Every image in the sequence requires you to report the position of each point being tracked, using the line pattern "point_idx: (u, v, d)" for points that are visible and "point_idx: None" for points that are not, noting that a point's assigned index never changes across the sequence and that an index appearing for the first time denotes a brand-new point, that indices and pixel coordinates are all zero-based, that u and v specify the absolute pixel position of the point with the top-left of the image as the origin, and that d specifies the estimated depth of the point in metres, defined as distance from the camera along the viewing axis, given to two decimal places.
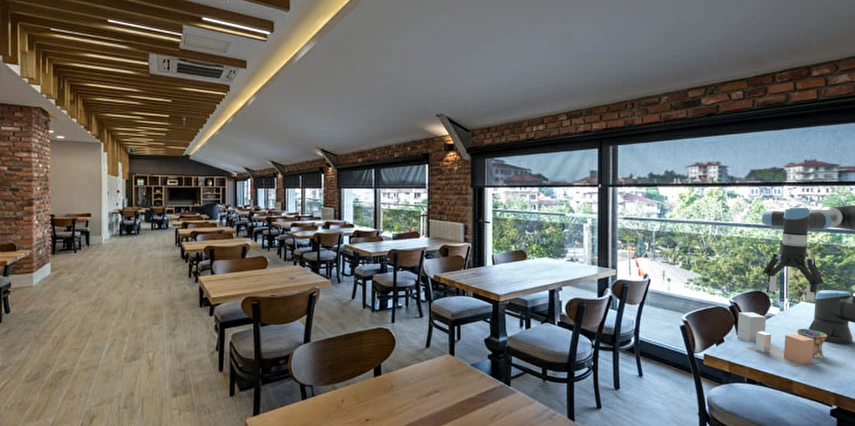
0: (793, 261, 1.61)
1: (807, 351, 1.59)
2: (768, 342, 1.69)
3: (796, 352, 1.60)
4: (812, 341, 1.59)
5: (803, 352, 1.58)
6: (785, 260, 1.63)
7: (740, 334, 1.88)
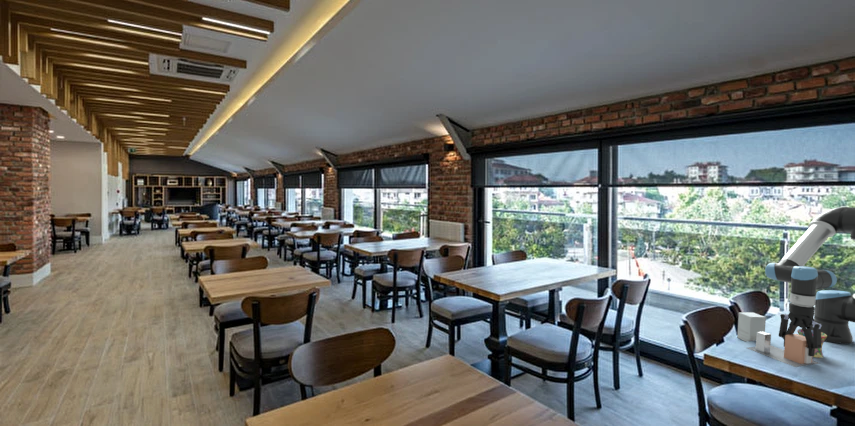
0: (801, 321, 1.59)
1: None
2: (768, 342, 1.69)
3: (796, 352, 1.60)
4: None
5: (803, 352, 1.58)
6: (793, 320, 1.62)
7: (740, 334, 1.88)
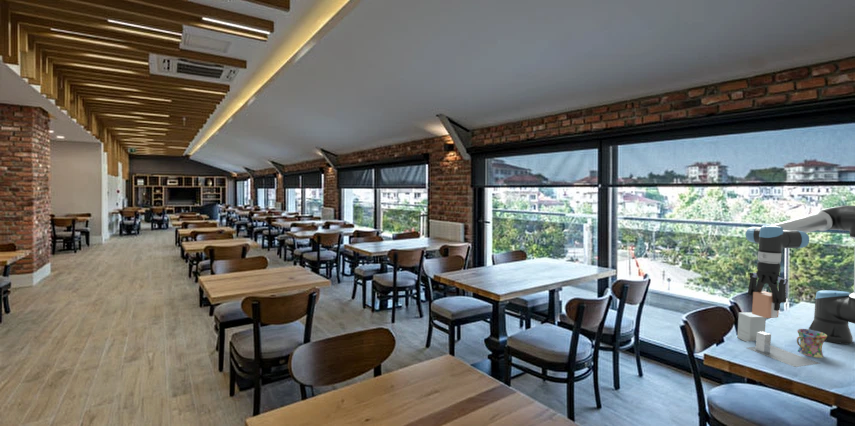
0: (767, 278, 1.67)
1: None
2: (768, 342, 1.69)
3: (763, 307, 1.67)
4: None
5: (769, 307, 1.66)
6: (761, 277, 1.69)
7: (740, 334, 1.88)
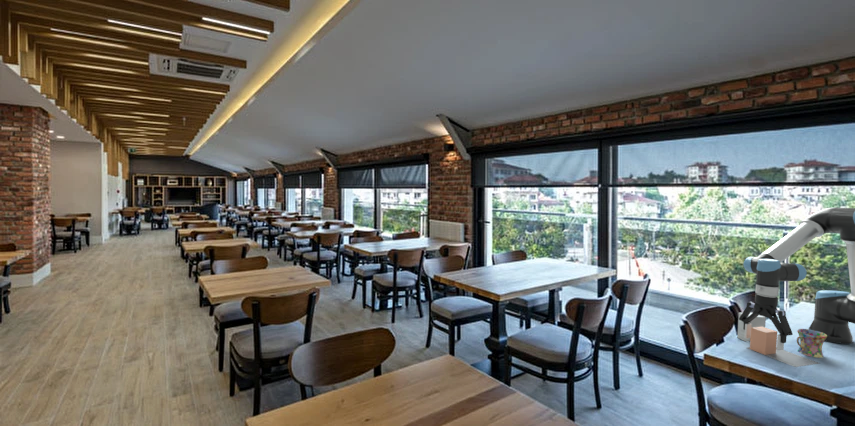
0: (765, 311, 1.67)
1: (771, 343, 1.67)
2: None
3: (760, 344, 1.68)
4: (775, 333, 1.68)
5: (767, 343, 1.67)
6: (758, 309, 1.70)
7: (740, 334, 1.88)
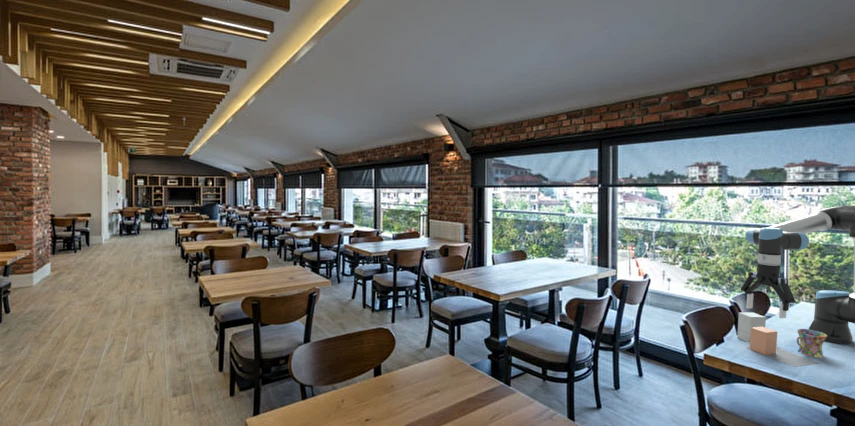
0: (767, 280, 1.67)
1: (771, 343, 1.67)
2: None
3: (760, 344, 1.68)
4: (775, 333, 1.68)
5: (767, 343, 1.67)
6: (760, 278, 1.69)
7: (740, 334, 1.88)
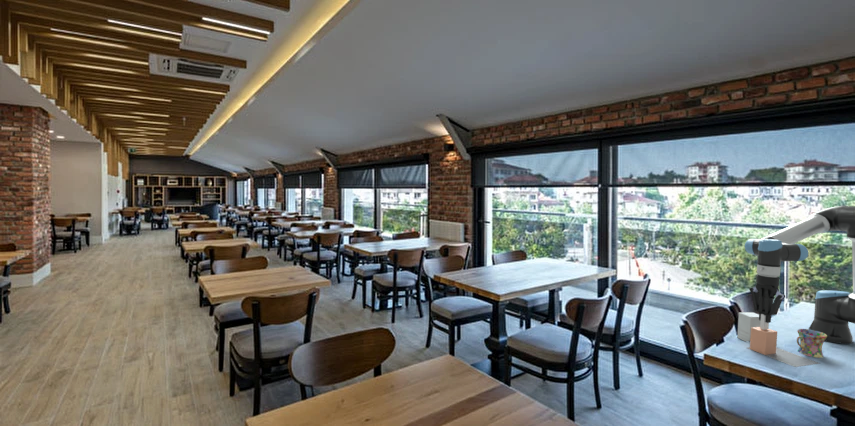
0: (766, 291, 1.67)
1: (771, 343, 1.67)
2: None
3: (760, 344, 1.68)
4: (775, 333, 1.68)
5: (767, 343, 1.67)
6: (760, 290, 1.69)
7: (740, 333, 1.88)
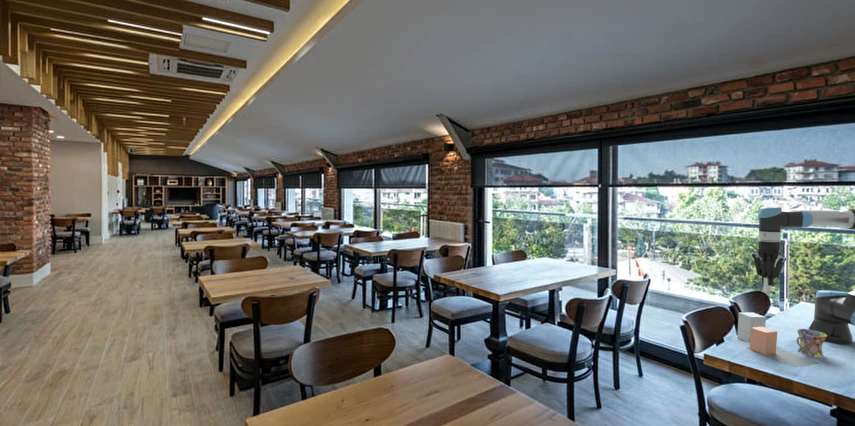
0: (768, 256, 1.77)
1: (771, 343, 1.67)
2: None
3: (760, 344, 1.68)
4: (775, 333, 1.68)
5: (767, 343, 1.67)
6: (762, 255, 1.79)
7: (740, 333, 1.88)
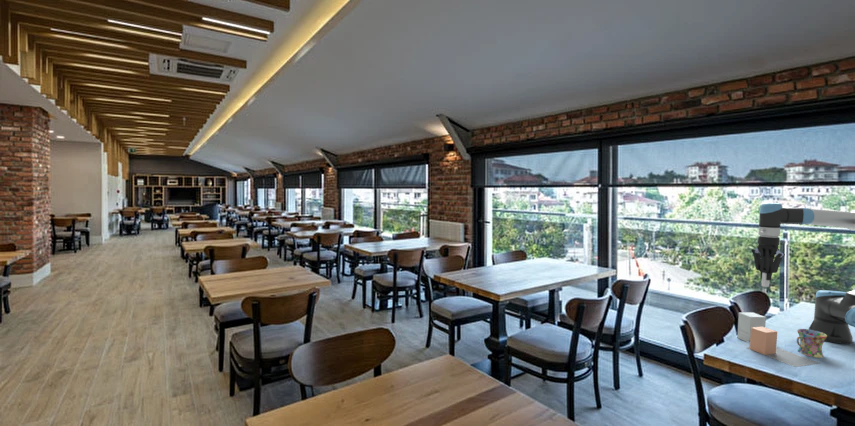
0: (767, 251, 1.80)
1: (771, 343, 1.67)
2: None
3: (760, 344, 1.68)
4: (775, 333, 1.68)
5: (767, 343, 1.67)
6: (761, 250, 1.83)
7: (740, 333, 1.88)
